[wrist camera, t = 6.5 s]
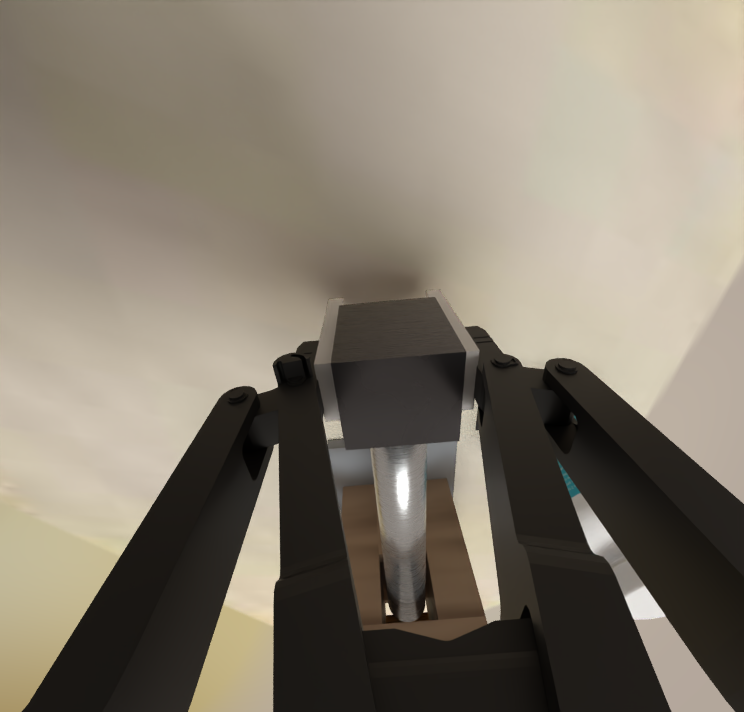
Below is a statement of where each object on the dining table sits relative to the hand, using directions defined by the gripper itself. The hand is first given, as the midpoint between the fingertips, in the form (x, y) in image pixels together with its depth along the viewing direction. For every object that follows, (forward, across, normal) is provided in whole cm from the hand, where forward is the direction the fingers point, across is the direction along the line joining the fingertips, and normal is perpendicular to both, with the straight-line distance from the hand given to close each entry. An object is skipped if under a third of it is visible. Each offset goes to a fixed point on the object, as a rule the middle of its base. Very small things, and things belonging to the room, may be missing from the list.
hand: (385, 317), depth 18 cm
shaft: (-2, 0, -10) cm, 10 cm away
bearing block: (+4, 0, -24) cm, 24 cm away
